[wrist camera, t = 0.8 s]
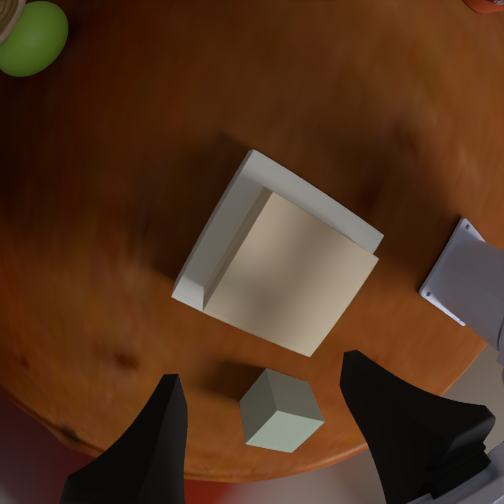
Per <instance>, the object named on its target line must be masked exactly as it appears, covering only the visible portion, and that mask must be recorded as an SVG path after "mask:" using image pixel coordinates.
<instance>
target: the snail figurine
mask: <svg viewBox="0 0 504 504" xmlns="http://www.w3.org/2000/svg"><path fill="white" fill-rule="evenodd" d="M25 4H26V0H0V69H1V70H2V71H3V72H5V73H7V74H9V75H11V76H16V77H25V76H30V75H33V74H36V73H38V72H40V71H42V70H43V69H45V68H46V67H48V66H49V65H50V64H51V63H52V62H53V61H54V60H55V59H56V58H57V57H58V55H59V54H60V52H61V51H62V49H63V47H64V45H65V43H66V40H67V36H68V21H67V18H66V15H65V13H64V12H63V11H62V9H61V8H60V7H58V6H57V5H55V4H53V3H50V2H46V1H36V2H31V3H28V4H26V5H25Z"/></svg>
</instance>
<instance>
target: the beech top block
mask: <svg viewBox="0 0 504 504" xmlns="http://www.w3.org/2000/svg"><path fill="white" fill-rule="evenodd" d="M378 260H379V258H377V257H376V256H374V255H373V254H371V253H370V252H369V251H367V250H366V249H364V248H363V247H361V246H360V245H358V244H357V243H355V242H354V241H352V240H351V239H349V238H348V237H346V236H345V235H343V234H342V233H340V232H338V231H337V230H335V229H334V228H332V227H331V226H329V225H327V224H326V223H324V222H323V221H321V220H320V219H318V218H316V217H315V216H313V215H312V214H310V213H308V212H307V211H305V210H303V209H302V208H300V207H299V206H297V205H295V204H294V203H292V202H290V201H289V200H287V199H285V198H284V197H282V196H280V195H279V194H277V193H275V192H274V191H272V190H270V189H268V188H267V187H265V186H263V187H262V188H261V190H260V192H259V193H258V195H257V197H256V198H255V200H254V202H253V204H252V205H251V207H250V209H249V210H248V212H247V214H246V215H245V217H244V219H243V221H242V222H241V224H240V226H239V227H238V229H237V231H236V233H235V234H234V236H233V238H232V240H231V241H230V243H229V245H228V246H227V248H226V250H225V252H224V253H223V255H222V257H221V259H220V260H219V262H218V264H217V266H216V267H215V269H214V271H213V273H212V274H211V276H210V278H209V280H208V281H207V283H206V285H205V287H204V294H203V310H202V312H203V313H206V314H208V315H210V316H212V317H214V318H217V319H219V320H221V321H223V322H226V323H228V324H230V325H232V326H235V327H237V328H239V329H242V330H244V331H246V332H249V333H251V334H253V335H256V336H258V337H261V338H263V339H265V340H268V341H270V342H273V343H275V344H278V345H280V346H283V347H285V348H288V349H290V350H293V351H295V352H298V353H301V354H303V355H306V356H308V357H310V356H311V355H312V354H313V352H314V351H315V350H316V349H317V347H318V346H319V345H320V343H321V342H322V341H323V339H324V338H325V337H326V335H327V334H328V333H329V331H330V330H331V329H332V327H333V326H334V325H335V323H336V322H337V320H338V319H339V318H340V316H341V315H342V314H343V312H344V311H345V309H346V308H347V306H348V305H349V304H350V302H351V301H352V299H353V298H354V296H355V295H356V293H357V292H358V291H359V289H360V288H361V286H362V285H363V283H364V282H365V280H366V279H367V277H368V276H369V274H370V273H371V271H372V269H373V268H374V266H375V265H376V263H377V262H378Z"/></svg>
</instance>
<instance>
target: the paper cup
mask: <svg viewBox="0 0 504 504" xmlns="http://www.w3.org/2000/svg"><path fill="white" fill-rule="evenodd" d="M463 1H464V2H465V4H466V5H467V6H469V7H470V8H471V9H472V10H474V11H475V12H477V13H480V14H484V13H490V12H496V11H501V10H504V0H463Z"/></svg>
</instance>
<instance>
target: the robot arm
mask: <svg viewBox="0 0 504 504" xmlns="http://www.w3.org/2000/svg"><path fill="white" fill-rule="evenodd" d="M427 292H428V293H427ZM419 294H420V295H421V296H422V297H423V298H425V299H426V300H428V301H429V302H430V303H432V304H433V305H435V306H436V307H437V308H439V309H440V310H442V311H443V312H444V313H446V314H447V315H448V316H450V317H451V318H453V319H454V320H455V321H457V322H458V323H459V324H461V325H462V326H464V325H467V326H468V327H470V328H471V329H472V330H473V331H475V332H476V333H477V334H478V335H479V336H481V337H482V338H483V339H484V340H485V341H487V342H488V343H489V344H490V345H492V346H493V347H494V348H495V349H496V350H497V351H499V354H498V357H497V362H498V363H499V364H501V365H502V366H503V367H504V251H503V250H501V249H499V248H497V247H495V246H492V245H490V244H488V243H486V242H485V241H484V239H483V238H482V237H481V236H480V234H479V233H478V232H477V231H476V229H475V228H474V227H473V226H472V225H471V223H470V222H469V221H468V220H467V219H466V218H461V219H460V221H459V223H458V225H457V227H456V228H455V230H454V232H453V234H452V236H451V238H450V240H449V241H448V243H447V245H446V247H445V248H444V250H443V252H442V254H441V255H440V257H439V259H438V260H437V262H436V264H435V266H434V267H433V269H432V270H431V272H430V274H429V275H428V277H427V278H426V280H425V282H424V283H423V285H422V286H421V288H420V290H419ZM502 381H503V384H504V368H503V372H502ZM340 388H341V391H342V394H343V397H344V399H345V402H346V404H347V406H348V408H349V410H350V412H351V414H352V416H353V417H354V419H355V421H356V423H357V425H358V427H359V428H360V430H361V432H362V434H363V436H364V438H365V440H366V442H367V444H368V446H369V449H370V451H371V454H372V457H373V459H374V462H375V465H376V468H377V471H378V474H379V477H380V480H381V484H382V487H383V491H384V495H385V499H386V503H387V504H499V503H500V502H501V501H502V500H503V499H504V441H503V442H502V443H501V444H499V445H498V446H496V447H495V448H494V449H492V450H491V451H490V452H489V453H488V454H487V455H486V454H485V452H484V450H485V449H486V446H485V445H484V444H483V441H484V440H485V438H486V437H487V436H488V434H489V433H490V431H491V430H492V428H493V426H494V423H495V416H494V415H493V414H492V413H491V412H490V411H489V409H488V408H487V407H486V406H485V405H476V404H469V403H463V402H458V401H454V400H450V399H446V398H443V397H440V396H437V395H434V394H431V393H429V392H426V391H424V390H422V389H419V388H417V387H415V386H413V385H411V384H409V383H407V382H405V381H404V380H402V379H400V378H398V377H397V376H395V375H393V374H392V373H390V372H389V371H387V370H385V369H384V368H382V367H381V366H379V365H378V364H377V363H375V362H374V361H372V360H371V359H369V358H368V357H367V356H365V355H364V354H362V353H361V352H359V351H358V350H353V351H348V352H344V357H343V364H342V371H341V378H340ZM187 428H188V416H187V403H186V400H185V397H184V393H183V390H182V386H181V383H180V379H179V375H178V374H164V375H163V376H162V378H161V380H160V382H159V384H158V385H157V387H156V389H155V391H154V392H153V394H152V395H151V397H150V399H149V400H148V402H147V403H146V405H145V406H144V408H143V409H142V411H141V412H140V414H139V415H138V416H137V418H136V419H135V420H134V422H133V423H132V424H131V425H130V427H129V428H128V429H127V430H126V431H125V432H124V434H123V435H122V436H121V437H120V438H119V439H118V440H117V441H116V442H115V443H114V444H113V445H112V446H111V447H110V448H108V449H107V450H106V451H105V452H104V453H103V454H101V455H100V456H99V457H97V458H96V459H95V460H94V461H92V462H91V463H89V464H88V465H86V466H85V467H83V468H81V469H80V470H78V471H76V472H74V473H73V474H71V475H69V476H68V477H67V480H66V482H65V485H64V489H63V492H62V496H61V500H60V504H185V497H184V477H183V473H184V458H185V448H186V438H187Z"/></svg>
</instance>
